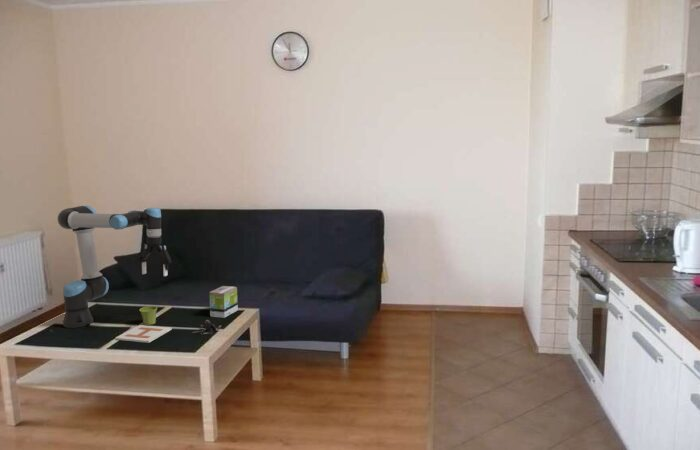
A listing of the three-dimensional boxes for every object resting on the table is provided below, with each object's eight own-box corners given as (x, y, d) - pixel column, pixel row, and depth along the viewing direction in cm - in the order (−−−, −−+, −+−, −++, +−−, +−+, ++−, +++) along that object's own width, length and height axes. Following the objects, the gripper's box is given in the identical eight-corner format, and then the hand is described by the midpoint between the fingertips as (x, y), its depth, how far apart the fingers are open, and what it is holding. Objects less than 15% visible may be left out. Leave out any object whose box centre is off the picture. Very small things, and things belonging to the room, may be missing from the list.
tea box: (225, 318, 322) (223, 293, 320) (209, 316, 325) (208, 291, 323) (238, 310, 336) (237, 286, 334) (223, 309, 339) (222, 285, 337)
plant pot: (152, 326, 310) (151, 311, 309) (137, 326, 312) (136, 310, 311) (161, 321, 319) (160, 306, 318) (146, 320, 321) (145, 305, 320)
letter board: (115, 339, 292) (115, 337, 292) (139, 326, 311) (139, 325, 310) (148, 342, 286) (148, 340, 286) (171, 329, 305) (171, 327, 305)
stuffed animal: (226, 326, 305) (211, 319, 296) (219, 344, 302) (204, 337, 293) (211, 322, 312) (196, 315, 302) (204, 339, 308) (188, 333, 299)
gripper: (130, 235, 308) (131, 274, 311) (169, 238, 301) (170, 277, 303) (139, 234, 316) (139, 271, 318) (178, 236, 308) (178, 275, 311)
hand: (154, 274), depth 311 cm, fingers open, 13 cm apart
